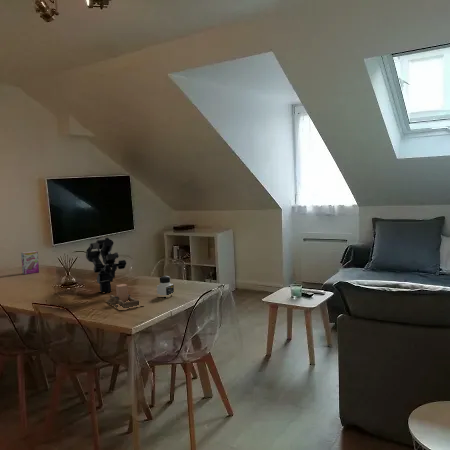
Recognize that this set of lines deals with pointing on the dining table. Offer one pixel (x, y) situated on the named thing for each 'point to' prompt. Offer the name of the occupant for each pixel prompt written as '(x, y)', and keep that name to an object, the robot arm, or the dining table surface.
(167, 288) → the medicine bottle
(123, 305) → the walnut chute
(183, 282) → the dining table surface
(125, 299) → the terracotta block
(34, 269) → the candy bar box
